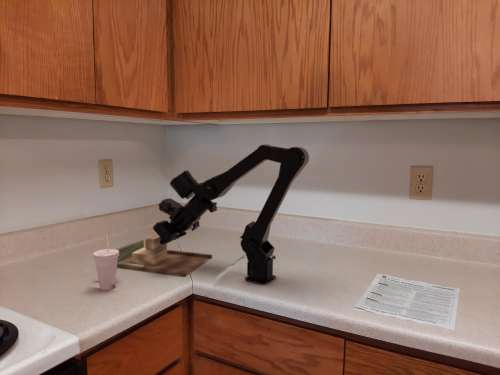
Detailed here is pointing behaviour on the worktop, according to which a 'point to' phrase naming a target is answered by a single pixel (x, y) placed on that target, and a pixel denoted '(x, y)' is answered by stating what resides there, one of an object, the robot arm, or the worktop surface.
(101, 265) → the smoothie
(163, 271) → the brown wooden tray
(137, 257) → the step block
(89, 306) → the worktop surface
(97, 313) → the worktop surface
